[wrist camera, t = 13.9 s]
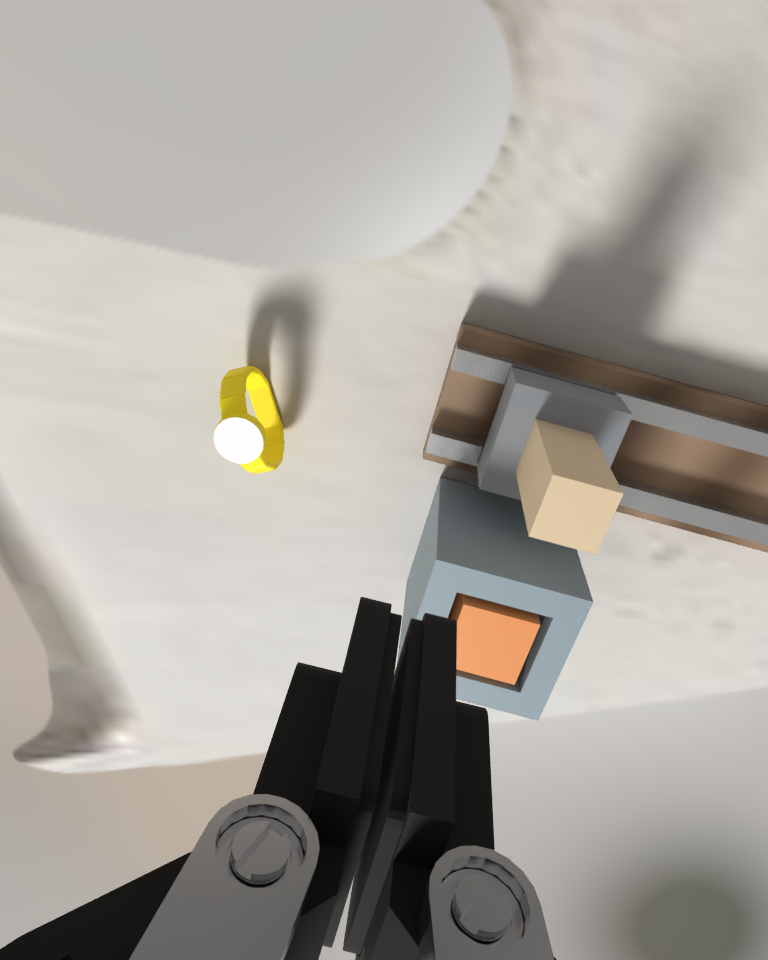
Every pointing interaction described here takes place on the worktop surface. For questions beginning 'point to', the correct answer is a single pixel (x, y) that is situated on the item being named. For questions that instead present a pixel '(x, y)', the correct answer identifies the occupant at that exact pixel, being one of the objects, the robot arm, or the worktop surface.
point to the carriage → (556, 457)
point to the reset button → (492, 637)
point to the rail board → (645, 446)
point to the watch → (249, 422)
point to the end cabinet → (498, 587)
